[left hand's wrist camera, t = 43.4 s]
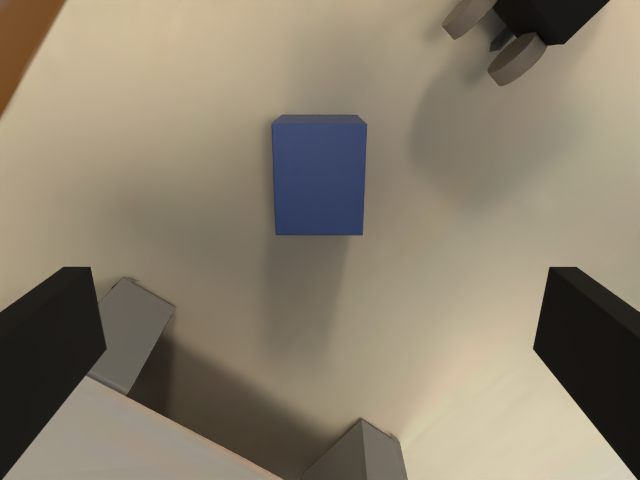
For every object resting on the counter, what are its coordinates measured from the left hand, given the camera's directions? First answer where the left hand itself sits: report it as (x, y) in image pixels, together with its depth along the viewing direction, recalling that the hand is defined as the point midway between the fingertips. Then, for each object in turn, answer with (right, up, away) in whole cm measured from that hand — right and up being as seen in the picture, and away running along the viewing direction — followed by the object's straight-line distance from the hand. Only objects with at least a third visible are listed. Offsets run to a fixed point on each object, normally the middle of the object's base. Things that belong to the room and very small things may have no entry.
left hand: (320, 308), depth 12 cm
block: (0, +8, +22) cm, 24 cm away
